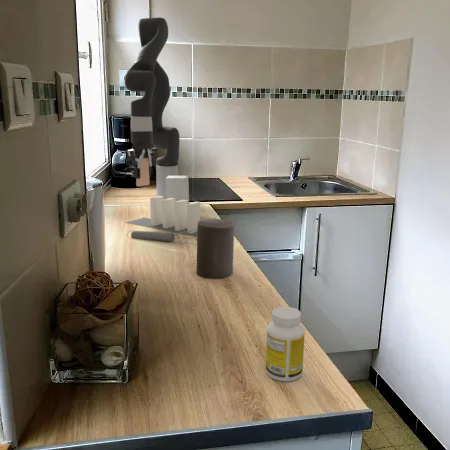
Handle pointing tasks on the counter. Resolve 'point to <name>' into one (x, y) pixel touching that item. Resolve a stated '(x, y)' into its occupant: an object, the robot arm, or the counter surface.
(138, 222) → the mat
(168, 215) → the domino
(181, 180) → the skincare box
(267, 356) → the pill bottle
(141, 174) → the domino
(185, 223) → the domino
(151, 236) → the kitchen whisk
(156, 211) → the domino
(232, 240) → the pillar candle
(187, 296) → the counter surface
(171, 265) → the counter surface
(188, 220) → the domino
